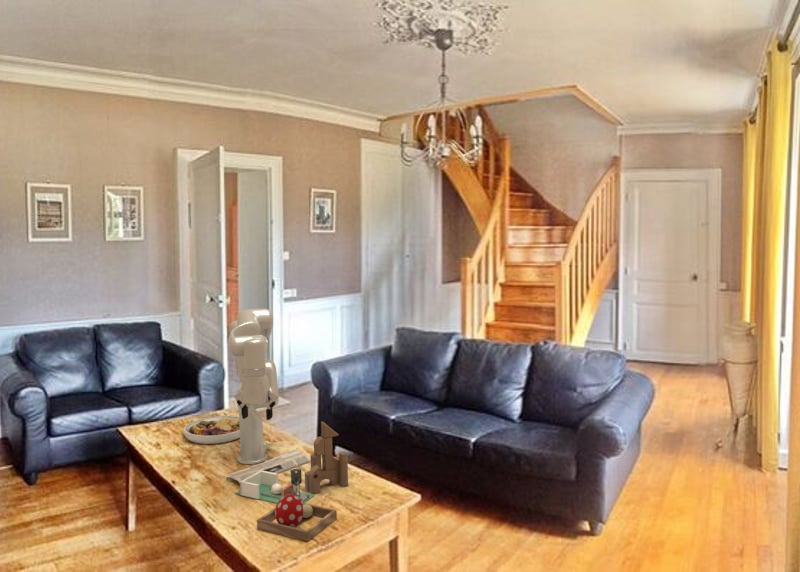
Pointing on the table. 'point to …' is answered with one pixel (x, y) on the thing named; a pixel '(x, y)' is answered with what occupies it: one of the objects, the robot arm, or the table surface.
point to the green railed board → (266, 489)
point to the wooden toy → (326, 463)
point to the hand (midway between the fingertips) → (257, 418)
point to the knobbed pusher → (294, 485)
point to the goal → (257, 483)
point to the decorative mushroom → (291, 511)
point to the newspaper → (273, 465)
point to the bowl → (213, 430)
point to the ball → (276, 489)
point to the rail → (278, 496)
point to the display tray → (297, 533)
